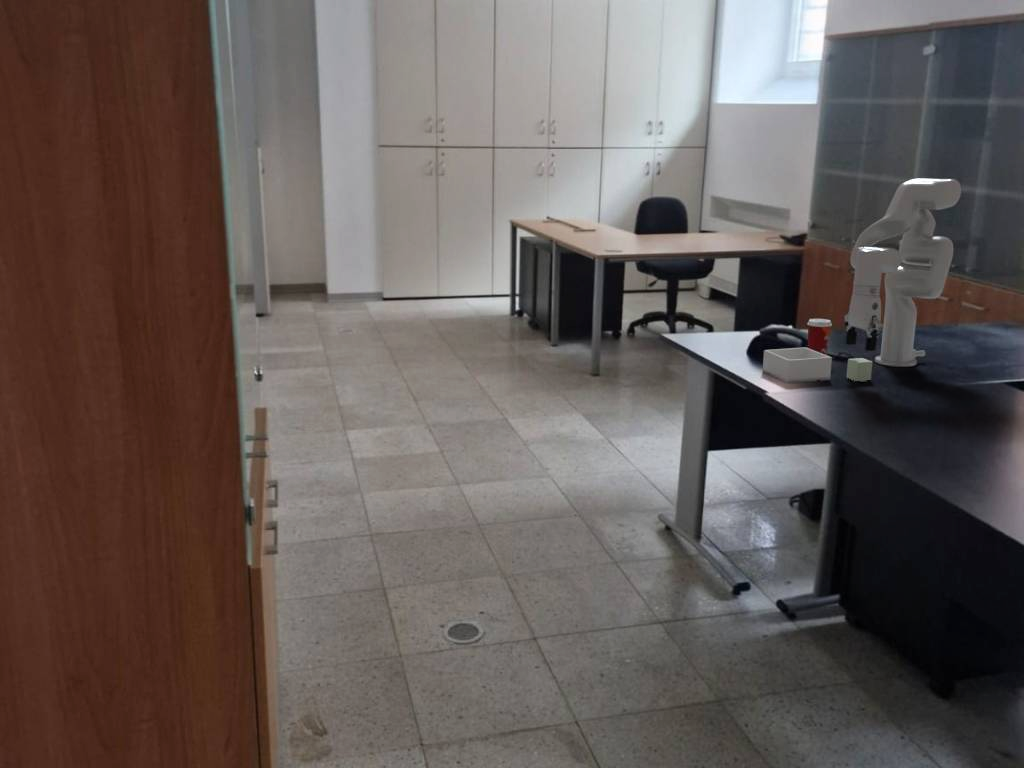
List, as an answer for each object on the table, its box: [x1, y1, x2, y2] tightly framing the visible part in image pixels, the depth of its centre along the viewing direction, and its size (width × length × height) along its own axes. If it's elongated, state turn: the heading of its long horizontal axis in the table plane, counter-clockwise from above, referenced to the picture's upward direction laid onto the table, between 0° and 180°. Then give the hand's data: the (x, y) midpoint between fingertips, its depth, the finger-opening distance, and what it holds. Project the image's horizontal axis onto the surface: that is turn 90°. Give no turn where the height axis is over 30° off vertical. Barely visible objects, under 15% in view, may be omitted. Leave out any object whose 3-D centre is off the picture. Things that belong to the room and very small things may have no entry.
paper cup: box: [806, 318, 833, 356], centre depth 294 cm, size 8×8×14 cm
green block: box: [846, 357, 873, 382], centre depth 274 cm, size 5×5×6 cm
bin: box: [762, 346, 833, 384], centre depth 278 cm, size 15×15×7 cm
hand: (860, 347), depth 271 cm, fingers open, 9 cm apart
